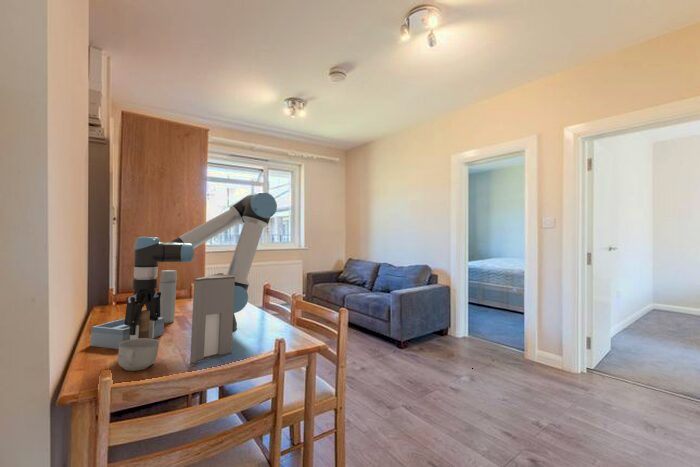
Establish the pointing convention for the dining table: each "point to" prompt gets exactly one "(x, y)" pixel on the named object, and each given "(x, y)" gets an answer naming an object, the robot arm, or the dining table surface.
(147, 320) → the peg
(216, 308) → the cabinet
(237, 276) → the robot arm
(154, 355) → the teacup
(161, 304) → the water bottle
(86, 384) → the dining table surface
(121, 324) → the box
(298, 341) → the dining table surface
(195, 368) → the dining table surface
